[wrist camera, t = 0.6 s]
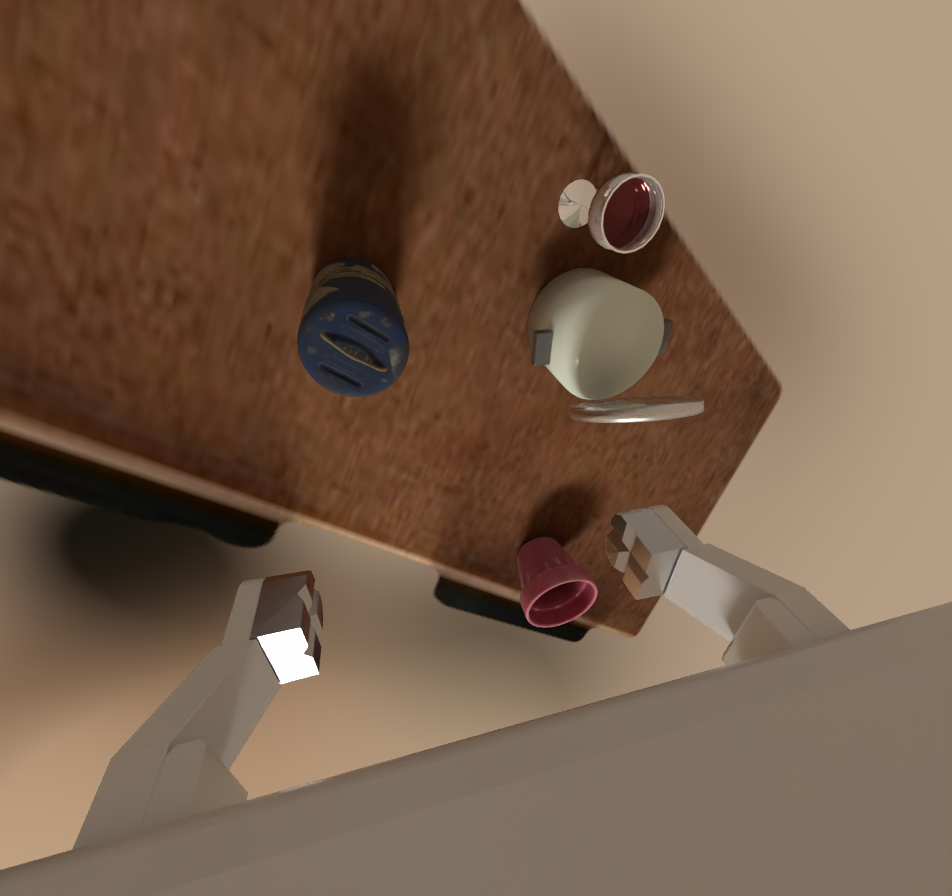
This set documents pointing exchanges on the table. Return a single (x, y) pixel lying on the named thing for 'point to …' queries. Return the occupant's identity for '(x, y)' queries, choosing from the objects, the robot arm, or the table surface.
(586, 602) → the plant pot
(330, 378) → the canister
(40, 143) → the table surface
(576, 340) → the pot
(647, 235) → the wineglass
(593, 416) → the lid
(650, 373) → the table surface
